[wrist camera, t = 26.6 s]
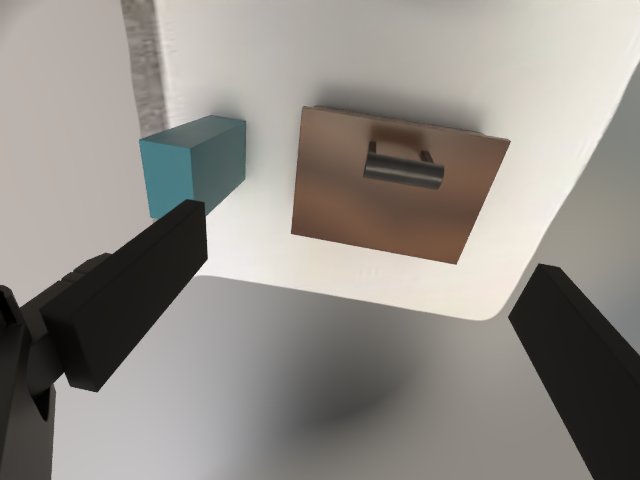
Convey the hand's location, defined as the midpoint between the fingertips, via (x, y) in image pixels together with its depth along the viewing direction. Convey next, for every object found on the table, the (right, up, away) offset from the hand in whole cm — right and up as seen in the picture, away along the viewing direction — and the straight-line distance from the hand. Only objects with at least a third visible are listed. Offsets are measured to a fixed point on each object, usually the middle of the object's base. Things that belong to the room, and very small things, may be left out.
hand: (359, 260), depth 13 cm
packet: (-13, +13, +28) cm, 34 cm away
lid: (+5, +6, +21) cm, 22 cm away
